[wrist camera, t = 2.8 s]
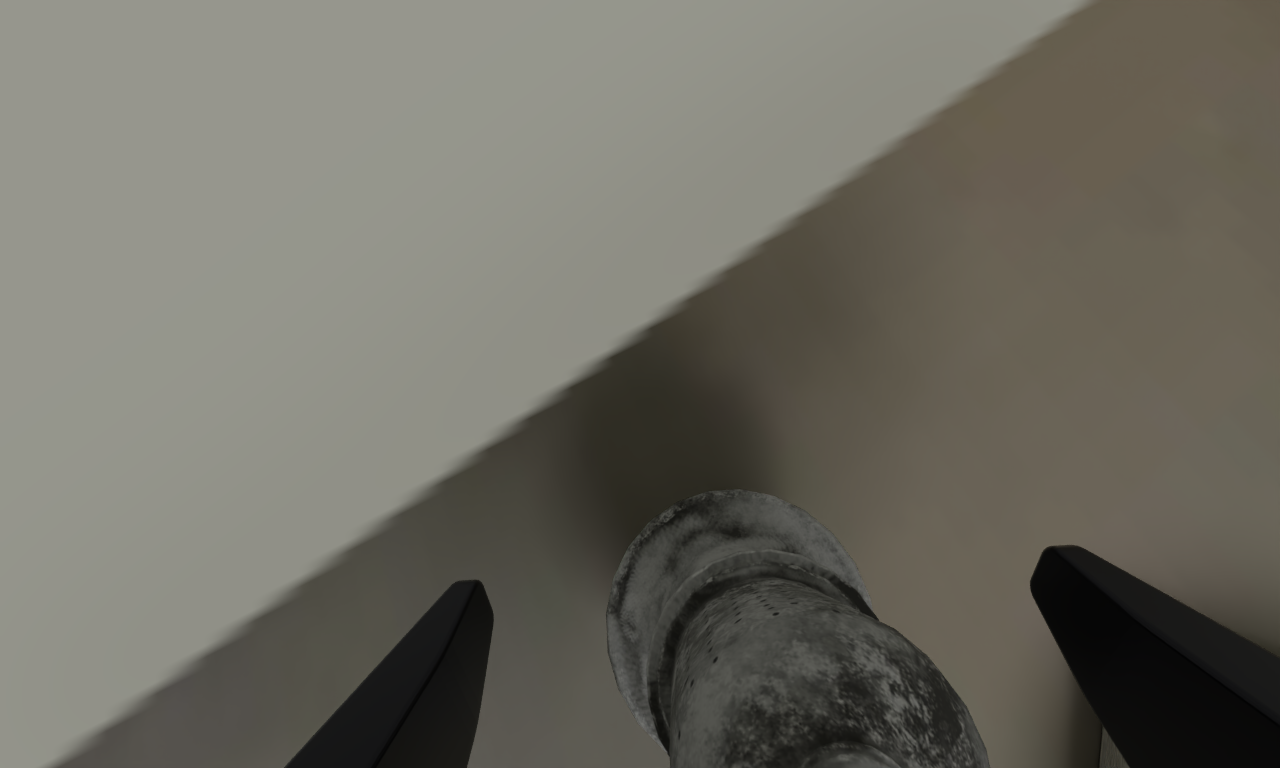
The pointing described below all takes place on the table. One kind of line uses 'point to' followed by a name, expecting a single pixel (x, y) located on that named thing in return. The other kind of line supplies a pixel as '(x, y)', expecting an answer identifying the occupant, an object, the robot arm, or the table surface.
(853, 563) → the grey stone tall piece
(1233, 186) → the table surface
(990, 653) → the table surface
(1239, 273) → the table surface
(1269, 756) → the robot arm
